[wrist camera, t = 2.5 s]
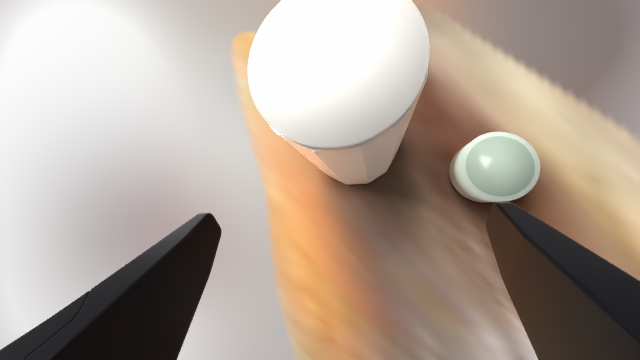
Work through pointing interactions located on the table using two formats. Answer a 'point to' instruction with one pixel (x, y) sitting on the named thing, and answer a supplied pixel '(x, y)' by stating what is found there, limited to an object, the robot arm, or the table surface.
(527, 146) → the sage bowl
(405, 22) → the white rounded tall piece
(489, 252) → the table surface
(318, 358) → the table surface
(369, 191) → the table surface
